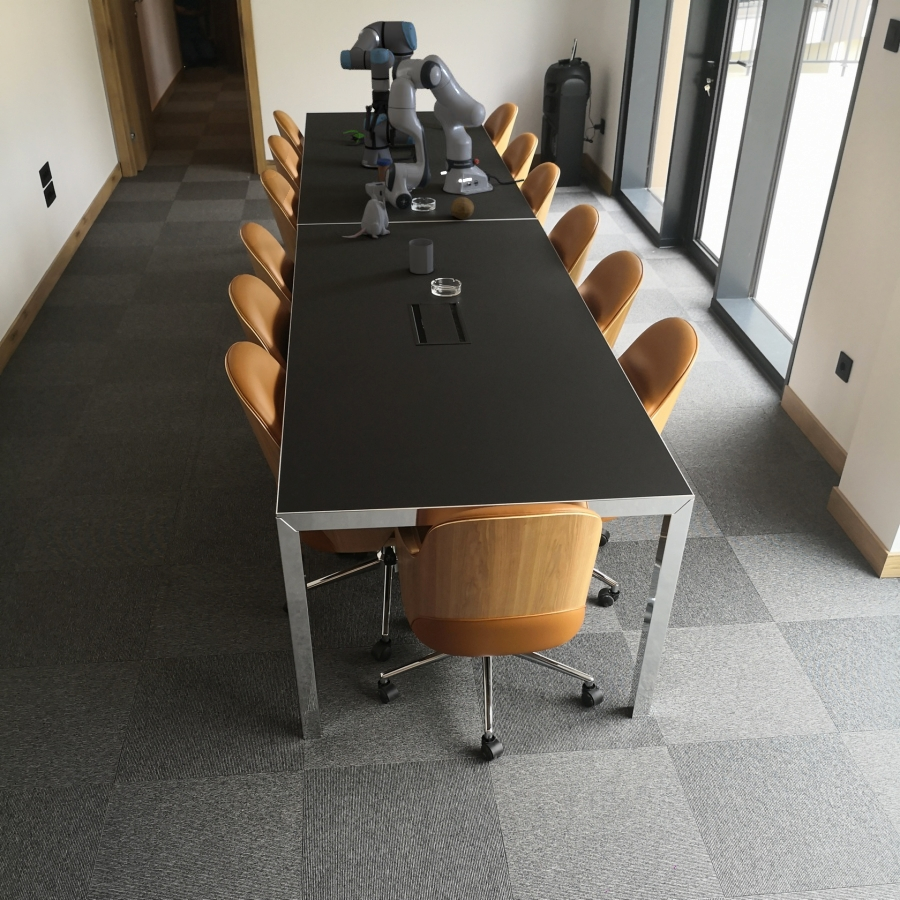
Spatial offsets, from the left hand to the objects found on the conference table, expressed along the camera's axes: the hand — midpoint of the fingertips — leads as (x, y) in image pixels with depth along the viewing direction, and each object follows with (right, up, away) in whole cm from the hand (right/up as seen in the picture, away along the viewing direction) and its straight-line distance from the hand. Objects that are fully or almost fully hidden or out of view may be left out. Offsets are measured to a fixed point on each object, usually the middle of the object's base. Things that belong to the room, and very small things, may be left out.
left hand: (383, 146), depth 372 cm
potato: (+34, -35, -14) cm, 50 cm away
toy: (-4, -48, -35) cm, 60 cm away
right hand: (0, -13, +8) cm, 15 cm away
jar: (0, -18, +12) cm, 22 cm away
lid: (0, -5, +3) cm, 6 cm away
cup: (+19, -66, -63) cm, 94 cm away
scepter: (-14, +35, +94) cm, 101 cm away
